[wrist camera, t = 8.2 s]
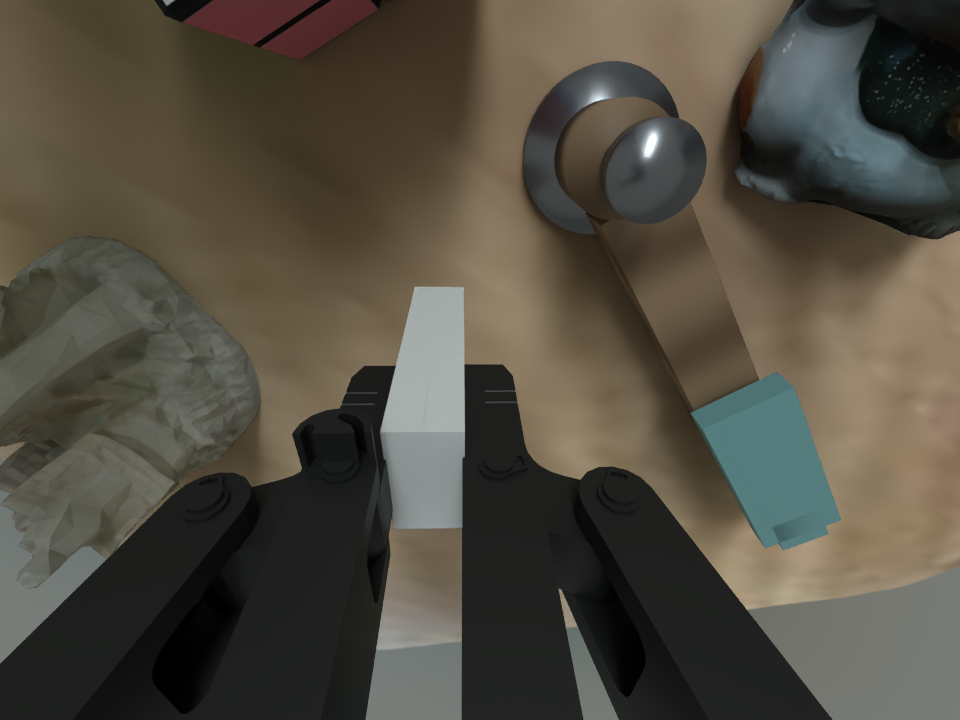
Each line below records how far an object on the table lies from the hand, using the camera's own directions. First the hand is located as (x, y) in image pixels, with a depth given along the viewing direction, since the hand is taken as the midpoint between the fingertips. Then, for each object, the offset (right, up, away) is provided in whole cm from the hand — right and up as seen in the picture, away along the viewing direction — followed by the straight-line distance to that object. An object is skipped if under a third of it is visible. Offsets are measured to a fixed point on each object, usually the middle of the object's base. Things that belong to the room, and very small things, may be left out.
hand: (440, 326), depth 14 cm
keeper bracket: (+20, -5, +18) cm, 27 cm away
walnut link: (+13, +2, +12) cm, 18 cm away
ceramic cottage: (-22, -2, +15) cm, 27 cm away
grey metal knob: (+8, +10, +9) cm, 15 cm away
